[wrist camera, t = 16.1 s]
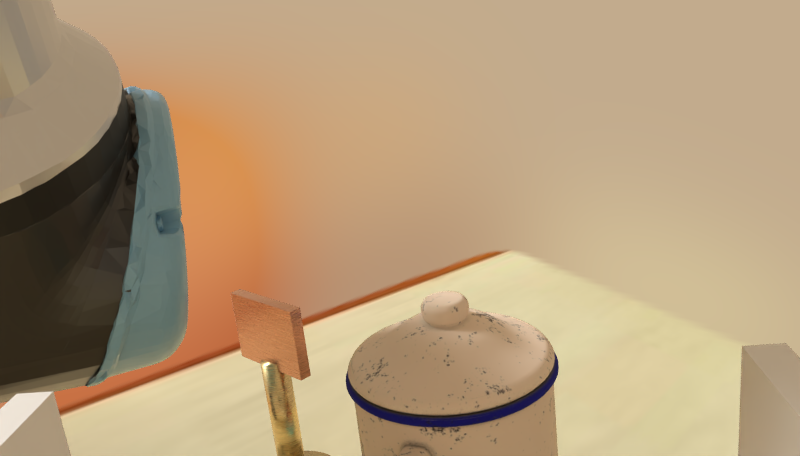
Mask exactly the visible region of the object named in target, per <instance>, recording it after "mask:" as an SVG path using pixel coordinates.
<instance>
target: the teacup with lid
mask: <svg viewBox="0 0 800 456" xmlns="http://www.w3.org/2000/svg"><path fill="white" fill-rule="evenodd" d="M558 368H559V367H558V359H557V356H556V354H555V352H554V350H553V347H552V345H551V344H550V342H549V341H548V339H547V338H546V337H545V336H544V335H543V334H542V333H541V332H540V331H539V330H538V329H536V328H535V327H533V326H532V325H530V324H528V323H526V322H524V321H522V320H519V319H516V318H513V317H510V316H506V315H502V314H496V313H490V312H482V311H479V310H475V309H471V308H469V305H468V301H467V299H466V298H465V297H464V296H463V295H462V294H461V293H458V292H453V291H442V292H436V293H433V294H431V295H429V296H427V297H426V298H425V299H424V300H423V302H422V304H421V313H419V314H417V315H415V316H413V317H411V318H409V319H406V320H403V321H400V322H397V323H395V324H392V325H390V326H388V327H385V328H383V329H381V330H380V331H378V332H376V333H375V334H373V335H372V336H370V337H369V338H367V339H366V340H365V341H364V342H363V343H362V344H361V345H360V346H359V347H358V348H357V349H356V351H355V352H354V354H353V356H352V358H351V360H350V363H349V366H348V371H347V375H346V386H347V390H348V392H349V394H350V396H351V398H352V399H353V400H354V402H355V408H356V415H357V422H358V429H359V436H360V443H361V450H362V456H558V449H557V433H556V416H555V399H554V382H555V380H556V378H557V375H558Z"/></svg>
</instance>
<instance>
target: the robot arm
mask: <svg viewBox="0 0 800 456" xmlns="http://www.w3.org/2000/svg"><path fill="white" fill-rule="evenodd" d="M181 215H182V212H181V202H180V182H179V173H178V164H177V156H176V149H175V142H174V135H173V129H172V123H171V118H170V113H169V108H168V105H167V102H166V100H165V98H164V97H163V96H162V95H161V94H160V93H159V92H156V91H153V90H141V89H140V88H137V87H132V86H130V87H128V88H125V89H123V85H122V81H121V77H120V74H119V70H118V67H117V66H116V63H115V61H114V59H113V58H112V56H111V54H110V53H109V51H108V50H107V48H106V47H105V46H104V45H103V44H101V43H100V42H99V41H98V40H97V39H96V38H94V37H93V36H91V35H89V34H88V33H86V32H85V31H83V30H81V29H79V28H77V27H75V26H73V25H70V24H69V23H66V22H64V21H62V20H60V19H58V18H57V17H56V14H55V11H54V8H53V4H52V1H51V0H0V403H2V402H7V401H8V402H7V403H6V404H5V405H4V406H3V407H2V408H1V409H0V456H71V454H70V450H69V447H68V443H67V439H66V436H65V432H64V428H63V425H62V421H61V418H60V414H59V410H58V407H57V403H56V399H55V396H54V392H55V391H60V390H65V389H70V388H75V387H79V386H84V385H85V386H87V387H89V386H95V385H98V384H100V383H101V382H103V381H104V380H105V379H106V378H107V377H110V376H114V375H117V374H121V373H125V372H128V371H132V370H135V369H139V368H143V367H146V366H150V365H153V364H156V363H159V362H161V361H164V360H165V359H167V358H168V357H170V356H171V355H172V354H173V353H174V352H175V351H176V350H177V348H178V347H179V346H180V344H181V342H182V340H183V338H184V336H185V332H186V329H187V321H188V283H187V266H186V250H185V239H184V231H183V225H182V223H181V221H180V218H181ZM738 456H800V358H799V357H798V356H797V354H796V353H795V352H794V351H793V350H792V349H791V348H790V347H789V346H788V345H787V344H786V343H783V344H766V345H751V346H742V361H741V390H740V420H739V449H738Z"/></svg>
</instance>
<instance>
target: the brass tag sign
mask: <svg viewBox="0 0 800 456" xmlns="http://www.w3.org/2000/svg"><path fill="white" fill-rule="evenodd" d="M231 298H232V303H233V308H234V314H235V319H236V324H237V330H238V335H239V341H240V346H241V351H242V356H244V357H246V358H249V359H251V360H253V361H256V362H258V363H261V369H262V374H263V380H264V385H265V391H266V396H267V402H268V407H269V413H270V418H271V424H272V430H273V435H274V441H275V446H276V452H277V456H330V455H328V454H325V453H321V452H316V451H304V450H303V444H302V438H301V432H300V426H299V420H298V415H297V409H296V403H295V397H294V391H293V385H292V379H291V376H292V377H294V378H296V379H299V380H303V379H305V378H307V377H308V376H310V369H309V362H308V356H307V350H306V344H305V337H304V331H303V325H302V319H301V313H300V308H299V307H296V306H293V305H289V304H286V303H283V302H280V301H277V300H273V299H270V298H267V297H263V296H260V295H257V294H254V293H251V292H247V291H244V290H241V289H239V290H237V291H235V292H232V293H231Z"/></svg>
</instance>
